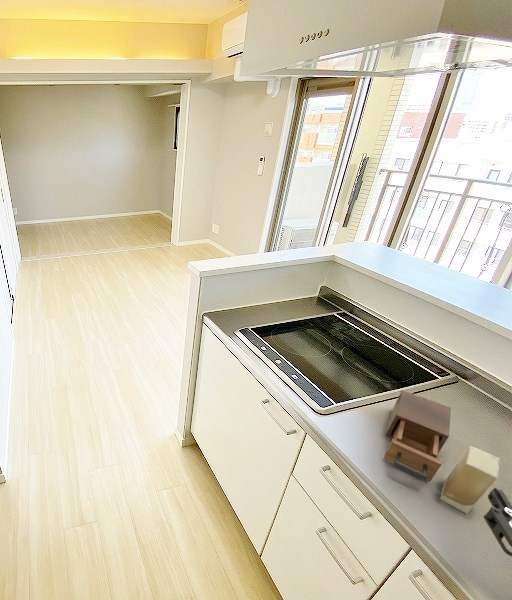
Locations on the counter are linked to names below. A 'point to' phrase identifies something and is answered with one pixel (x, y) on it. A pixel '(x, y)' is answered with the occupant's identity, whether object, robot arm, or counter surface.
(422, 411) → the cabinet
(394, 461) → the drawer
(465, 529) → the counter surface
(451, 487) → the cosmetic box
